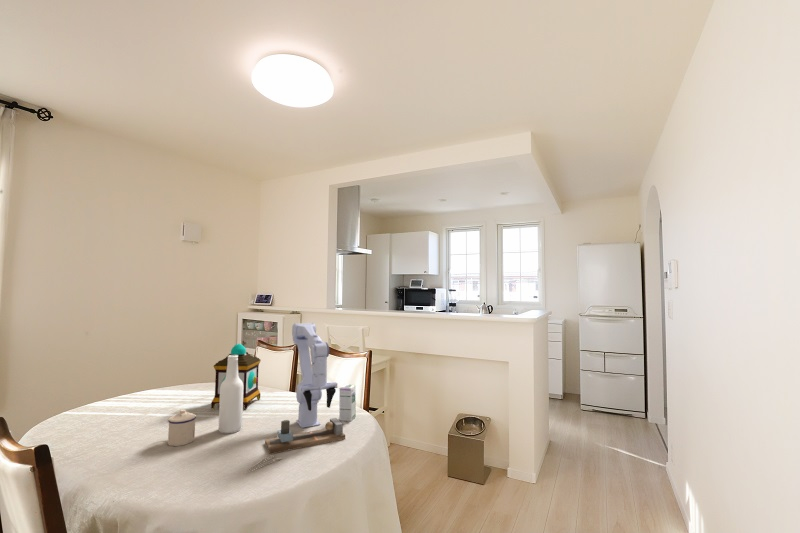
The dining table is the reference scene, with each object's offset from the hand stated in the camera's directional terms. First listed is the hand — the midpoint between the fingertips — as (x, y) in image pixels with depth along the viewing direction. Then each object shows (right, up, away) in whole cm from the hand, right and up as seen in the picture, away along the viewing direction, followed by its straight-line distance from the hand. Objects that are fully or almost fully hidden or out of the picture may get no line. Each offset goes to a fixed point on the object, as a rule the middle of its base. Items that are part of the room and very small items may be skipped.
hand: (319, 408), depth 149 cm
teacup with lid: (-52, -10, -7) cm, 53 cm away
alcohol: (-37, -11, +4) cm, 39 cm away
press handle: (-10, -7, -10) cm, 16 cm away
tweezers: (-14, -10, -28) cm, 33 cm away
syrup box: (+9, -12, +19) cm, 24 cm away
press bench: (-4, -10, -7) cm, 12 cm away
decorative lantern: (-50, -13, +39) cm, 64 cm away
